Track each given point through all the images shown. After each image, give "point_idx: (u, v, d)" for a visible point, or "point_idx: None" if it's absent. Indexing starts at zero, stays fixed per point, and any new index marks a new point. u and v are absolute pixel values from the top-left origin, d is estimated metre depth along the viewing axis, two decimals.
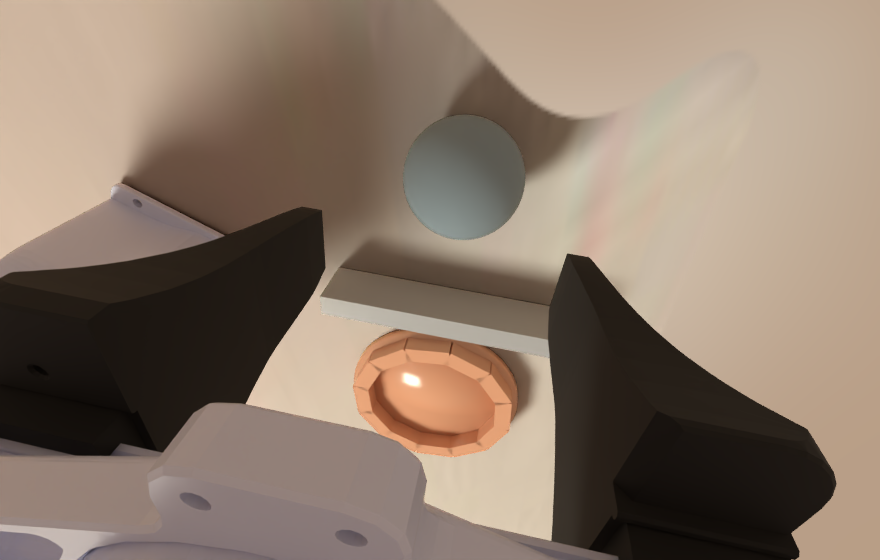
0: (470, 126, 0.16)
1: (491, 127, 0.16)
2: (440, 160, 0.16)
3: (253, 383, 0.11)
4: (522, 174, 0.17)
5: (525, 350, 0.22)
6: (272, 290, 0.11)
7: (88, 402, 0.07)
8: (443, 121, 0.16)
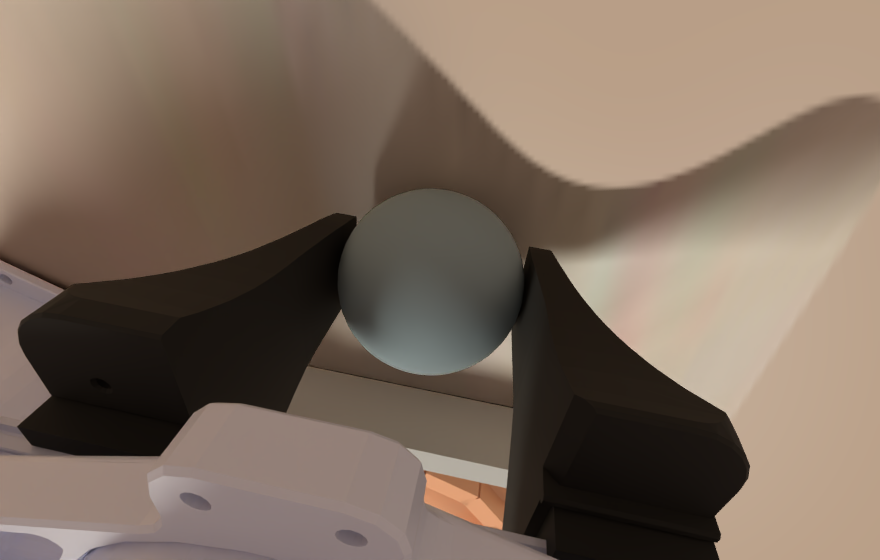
0: (435, 217, 0.10)
1: (470, 216, 0.10)
2: (384, 276, 0.10)
3: (293, 391, 0.10)
4: (519, 285, 0.11)
5: None
6: (312, 298, 0.10)
7: (150, 416, 0.07)
8: (394, 204, 0.10)
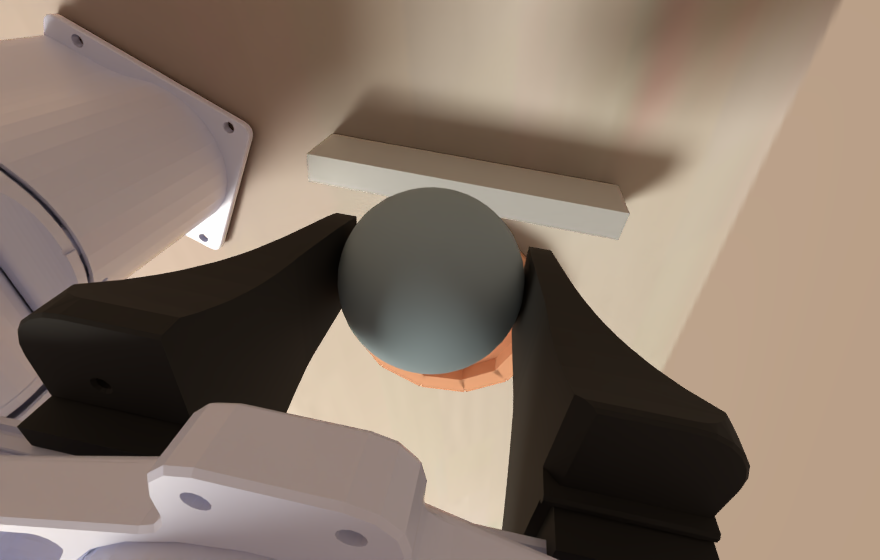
0: (435, 216, 0.10)
1: (470, 215, 0.10)
2: (384, 275, 0.10)
3: (292, 392, 0.10)
4: (520, 284, 0.11)
5: (568, 225, 0.17)
6: (312, 298, 0.10)
7: (150, 416, 0.07)
8: (394, 203, 0.10)
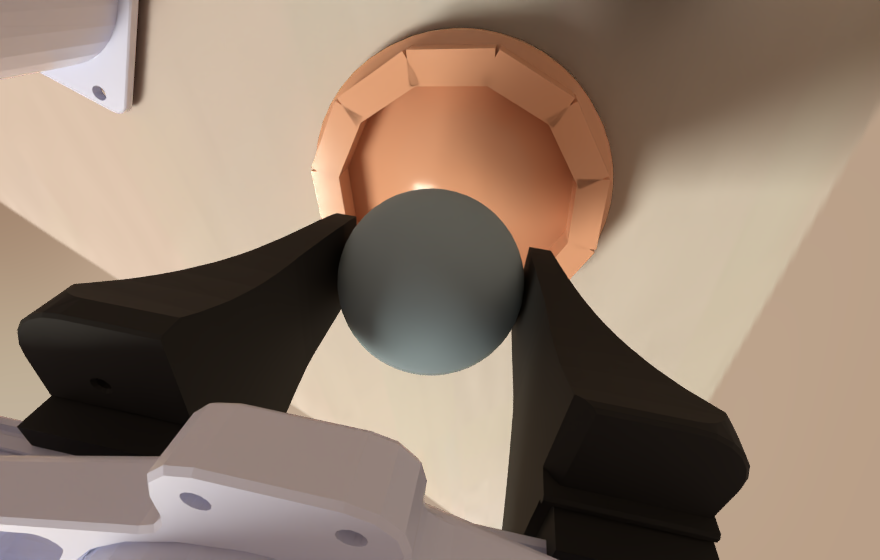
0: (434, 217, 0.10)
1: (469, 216, 0.10)
2: (384, 276, 0.10)
3: (293, 391, 0.10)
4: (519, 285, 0.11)
5: None
6: (312, 298, 0.10)
7: (150, 416, 0.07)
8: (394, 204, 0.10)
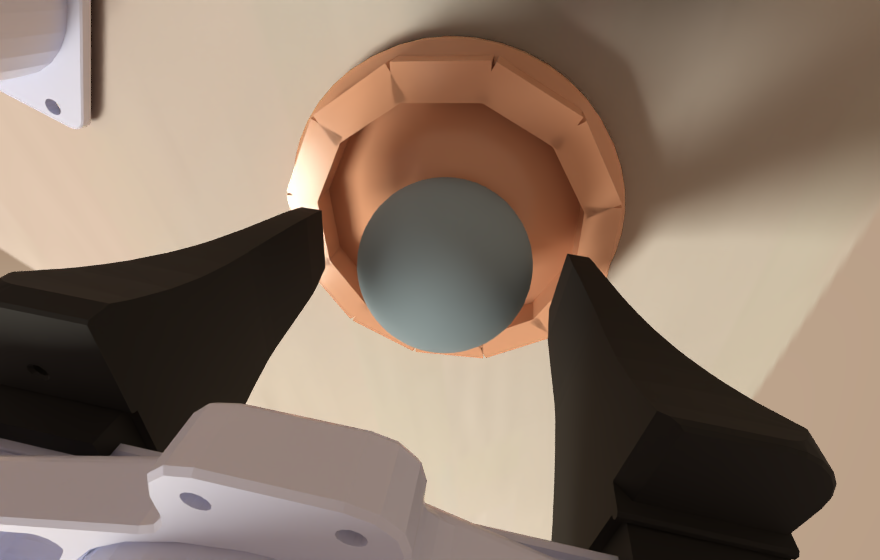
0: (453, 203, 0.10)
1: (484, 201, 0.11)
2: (411, 260, 0.10)
3: (253, 383, 0.11)
4: (531, 262, 0.12)
5: None
6: (272, 290, 0.11)
7: (88, 402, 0.07)
8: (412, 193, 0.11)
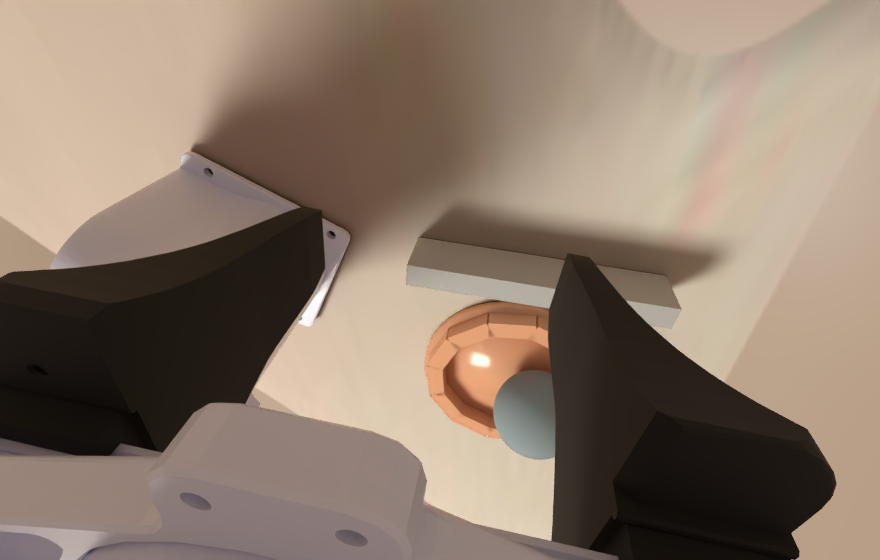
0: None
1: None
2: (553, 430, 0.23)
3: (252, 383, 0.11)
4: None
5: None
6: (272, 290, 0.11)
7: (88, 402, 0.07)
8: (532, 397, 0.23)
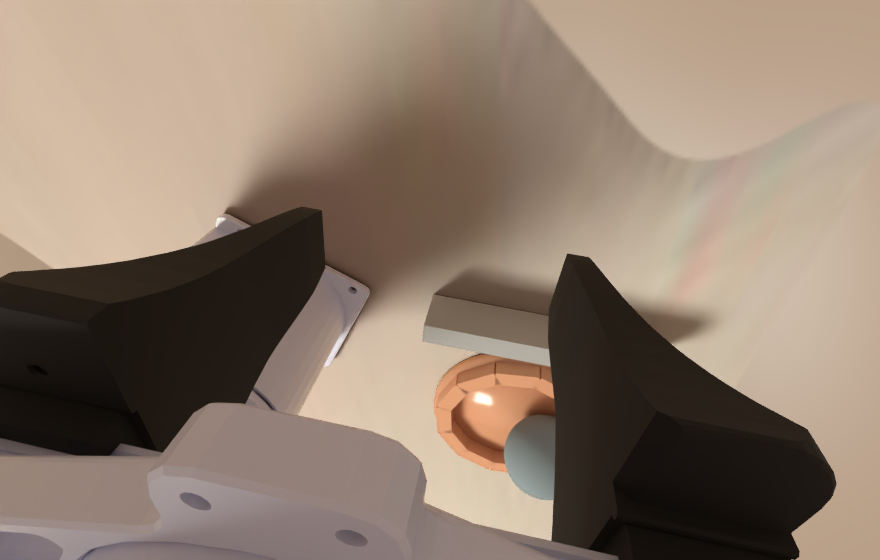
0: None
1: None
2: None
3: (253, 383, 0.11)
4: None
5: None
6: (272, 290, 0.11)
7: (88, 402, 0.07)
8: (544, 447, 0.25)
